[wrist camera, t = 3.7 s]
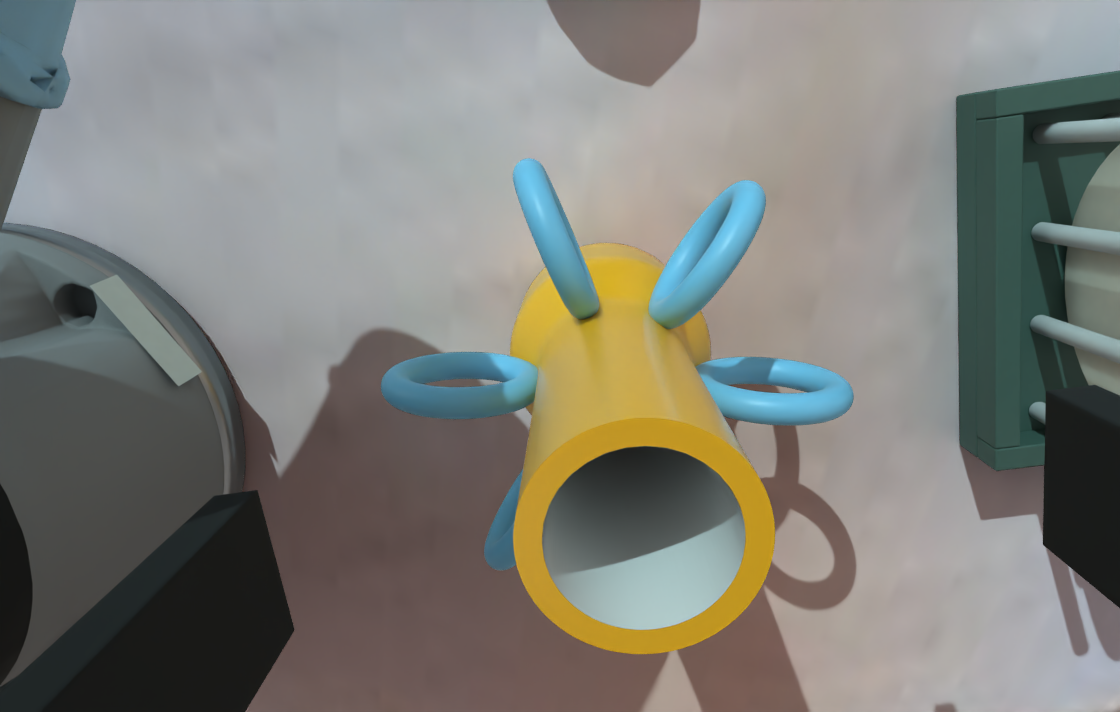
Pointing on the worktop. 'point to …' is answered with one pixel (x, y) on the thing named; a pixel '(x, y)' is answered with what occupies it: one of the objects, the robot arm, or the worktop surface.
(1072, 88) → the dish rack
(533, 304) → the cylinder
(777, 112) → the worktop surface
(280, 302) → the worktop surface
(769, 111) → the worktop surface
